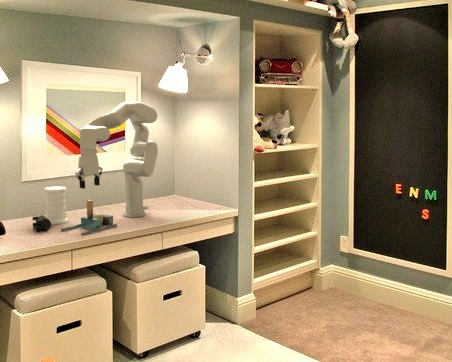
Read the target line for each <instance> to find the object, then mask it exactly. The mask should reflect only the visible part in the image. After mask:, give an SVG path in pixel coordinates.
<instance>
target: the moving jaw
mask: <svg viewBox="0 0 452 362" xmlns="http://www.w3.org/2000/svg"><path fill="white" fill-rule="evenodd" d="M93 214H94V200H93V199H87V200H86V215H84V216H81V217H80V224H81V227H80V228H84V229H89V230H92V229H96V228H100V219H97V218H93Z"/></svg>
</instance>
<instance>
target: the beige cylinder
mask: <svg viewBox="0 0 452 362" xmlns="http://www.w3.org/2000/svg"><path fill="white" fill-rule="evenodd" d="M102 214H103V213H93V218H97V219H100V227H104V226H103V215H102Z"/></svg>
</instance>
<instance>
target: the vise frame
mask: <svg viewBox="0 0 452 362" xmlns="http://www.w3.org/2000/svg"><path fill="white" fill-rule="evenodd" d="M101 214H102V215H103V227H100V228H96V229H89V230H86V231H85V230H84V231H82V232H80V235H81V236H86V235H89V234H93V233H97V232H101V231H104V230H108V229H112V228H115V227H118V224H117V223H114V215H110V214H104V213H101ZM77 228H82V227H81V223H78V224H74V225H70V226H65V227H61V228H60V231H61V232H65V231H70V230H74V229H77Z"/></svg>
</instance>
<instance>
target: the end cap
mask: <svg viewBox="0 0 452 362" xmlns="http://www.w3.org/2000/svg"><path fill="white" fill-rule="evenodd" d="M31 221H35V222H32V227H33V228H32V230H33V231H34V232H35V233H45V232H47V231H48V230H50V229H51V226H52V224H51V222H50V220H49V219H48V218H47V215H44V214H40V215H38V216H32V220H31Z"/></svg>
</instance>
